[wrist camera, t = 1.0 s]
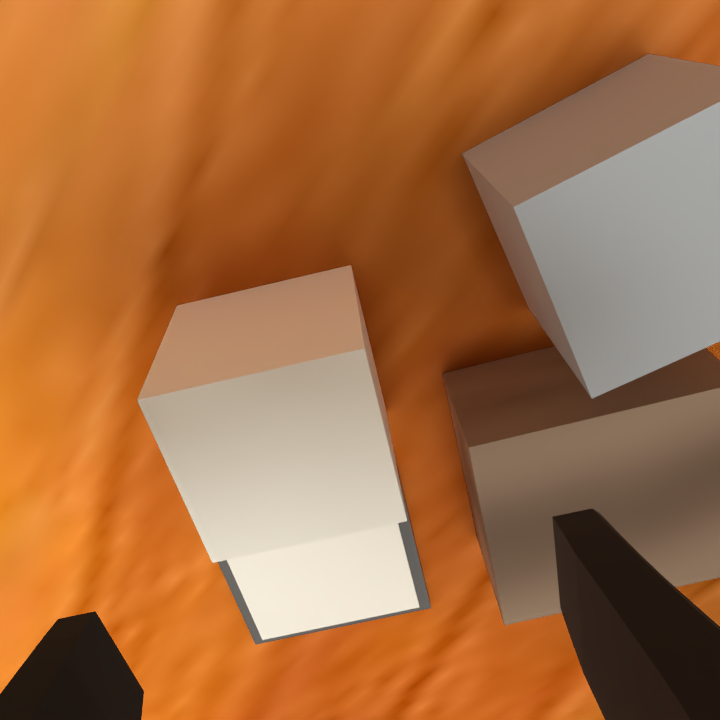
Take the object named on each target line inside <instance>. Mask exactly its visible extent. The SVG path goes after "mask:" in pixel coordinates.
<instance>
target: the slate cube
mask: <svg viewBox="0 0 720 720" xmlns="http://www.w3.org/2000/svg"><path fill="white" fill-rule="evenodd" d="M462 155H463V157H464V160H465V162H466V164H467V167H468V169H469V171H470V174H471V176H472V178H473V181H474V183H475V185H476V188H477V190H478V192H479V195H480V197H481V199H482V201H483V204H484V206H485V208H486V211H487V213H488V215H489V218H490V220H491V222H492V225H493V227H494V229H495V232H496V234H497V236H498V239H499V241H500V243H501V245H502V248H503V250H504V252H505V255H506V257H507V259H508V262H509V264H510V266H511V269H512V271H513V273H514V276H515V278H516V280H517V283H518V285H519V287H520V289H521V292H522V294H523V296H524V299H525V301H526V303H527V306H528V308H529V310H530V311H531V312H532V314H533V315H534V317H535V318H536V320H537V321H538V322H539V324H540V325H541V327H542V328H543V330H544V331H545V332H546V334H547V335H548V337H549V338H550V340H551V341H552V342H553V344H554V345H555V347H556V348H557V350H558V351H559V352H560V354H561V355H562V357H563V358H564V360H565V361H566V362H567V364H568V365H569V367H570V368H571V370H572V371H573V372H574V374H575V375H576V377H577V378H578V380H579V381H580V382H581V384H582V385H583V387H584V388H585V390H586V391H587V392H588V394H589V395H590V397H591V398H595V397H597V396H599V395H601V394H604V393H606V392H608V391H610V390H612V389H615V388H617V387H619V386H621V385H624V384H626V383H628V382H630V381H633V380H635V379H637V378H639V377H642V376H644V375H646V374H648V373H650V372H653V371H655V370H657V369H659V368H662V367H664V366H666V365H668V364H671V363H673V362H675V361H677V360H679V359H682V358H684V357H686V356H688V355H691V354H693V353H695V352H697V351H700V350H702V349H704V348H706V347H709V346H711V345H713V344H715V343H717V342H720V66H717V65H711V64H705V63H699V62H694V61H688V60H682V59H676V58H670V57H664V56H659V55H653V54H647V55H645V56H643V57H642V58H640V59H638V60H636V61H634V62H632V63H630V64H629V65H627V66H625V67H623V68H621V69H619V70H617V71H615V72H614V73H612V74H610V75H608V76H606V77H604V78H602V79H600V80H599V81H597V82H595V83H593V84H591V85H589V86H587V87H585V88H584V89H582V90H580V91H578V92H576V93H574V94H572V95H570V96H569V97H567V98H565V99H563V100H561V101H559V102H557V103H556V104H554V105H552V106H550V107H548V108H546V109H544V110H542V111H541V112H539V113H537V114H535V115H533V116H531V117H529V118H527V119H526V120H524V121H522V122H520V123H518V124H516V125H514V126H512V127H511V128H509V129H507V130H505V131H503V132H501V133H499V134H497V135H496V136H494V137H492V138H490V139H488V140H486V141H484V142H482V143H481V144H479V145H477V146H475V147H473V148H471V149H469V150H468V151H466V152H464V153H462Z"/></svg>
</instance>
